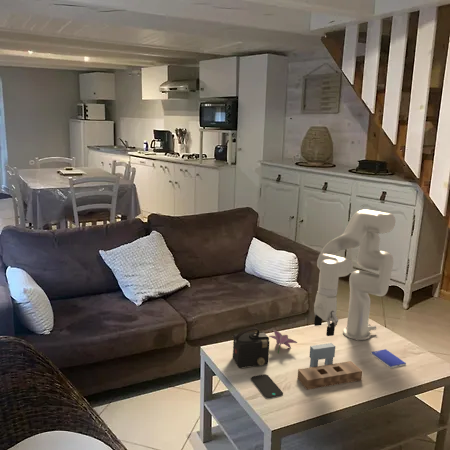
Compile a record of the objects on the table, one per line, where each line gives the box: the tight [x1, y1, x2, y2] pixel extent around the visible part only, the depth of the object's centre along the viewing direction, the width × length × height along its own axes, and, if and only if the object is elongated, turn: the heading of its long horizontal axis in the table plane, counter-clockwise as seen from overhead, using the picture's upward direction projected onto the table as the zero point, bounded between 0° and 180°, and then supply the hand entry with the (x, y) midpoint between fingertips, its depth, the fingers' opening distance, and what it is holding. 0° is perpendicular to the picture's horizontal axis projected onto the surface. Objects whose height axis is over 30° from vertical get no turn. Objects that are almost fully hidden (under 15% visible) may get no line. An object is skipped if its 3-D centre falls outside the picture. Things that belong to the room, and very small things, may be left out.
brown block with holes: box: [297, 360, 363, 390], centre depth 187 cm, size 24×8×4 cm, turn 109°
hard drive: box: [371, 348, 407, 369], centre depth 204 cm, size 2×8×12 cm
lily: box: [268, 329, 298, 354], centre depth 209 cm, size 12×12×10 cm
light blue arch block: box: [309, 342, 336, 367], centre depth 196 cm, size 10×3×9 cm, turn 109°
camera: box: [232, 326, 270, 369], centre depth 197 cm, size 11×14×15 cm
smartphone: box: [250, 373, 284, 400], centre depth 182 cm, size 8×1×15 cm
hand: (323, 330), depth 193 cm, fingers open, 9 cm apart
